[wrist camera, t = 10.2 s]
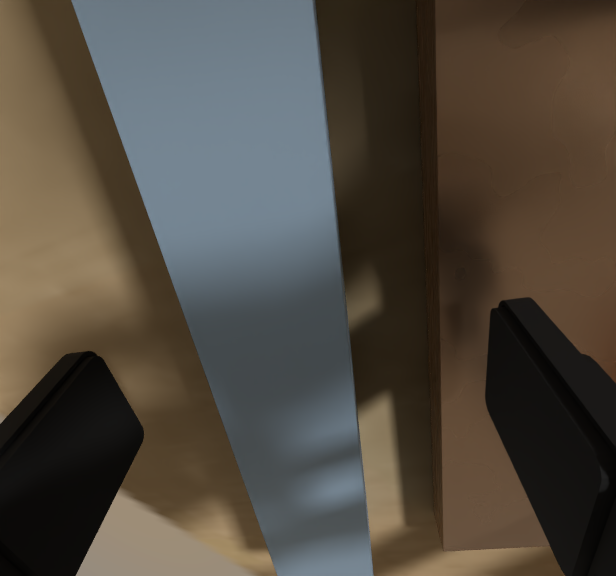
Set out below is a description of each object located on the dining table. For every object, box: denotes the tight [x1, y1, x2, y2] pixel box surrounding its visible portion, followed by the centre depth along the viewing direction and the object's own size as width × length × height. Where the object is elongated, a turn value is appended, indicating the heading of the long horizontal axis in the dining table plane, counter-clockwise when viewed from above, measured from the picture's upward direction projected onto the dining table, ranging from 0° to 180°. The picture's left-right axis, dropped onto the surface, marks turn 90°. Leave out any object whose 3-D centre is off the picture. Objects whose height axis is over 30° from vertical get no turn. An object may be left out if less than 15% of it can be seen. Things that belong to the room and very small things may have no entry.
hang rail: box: [71, 0, 374, 576], centre depth 10 cm, size 3×22×4 cm, turn 8°
